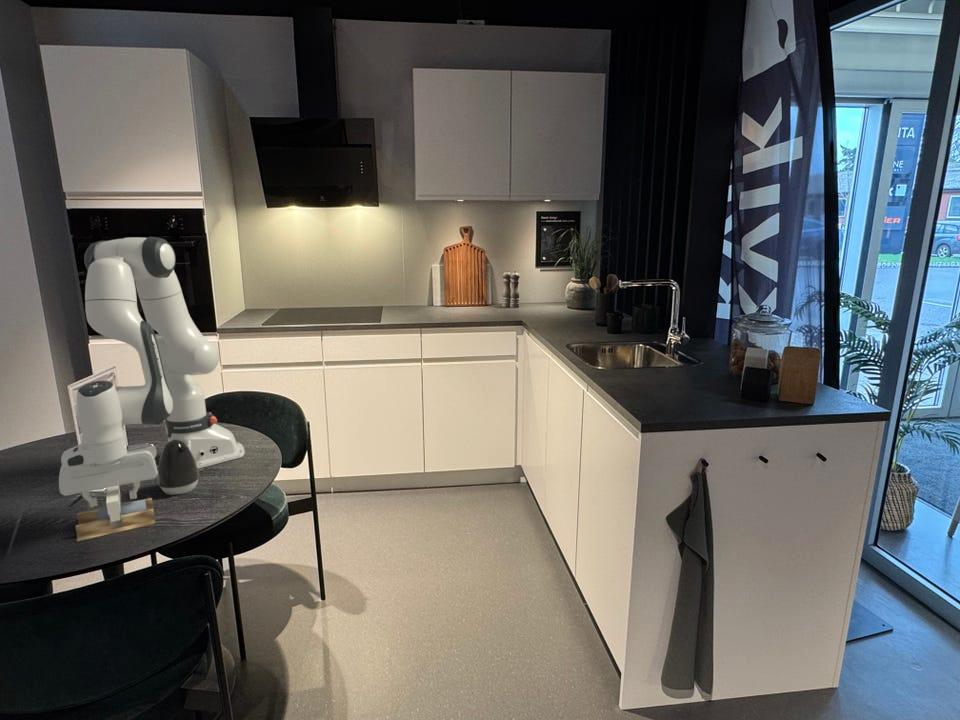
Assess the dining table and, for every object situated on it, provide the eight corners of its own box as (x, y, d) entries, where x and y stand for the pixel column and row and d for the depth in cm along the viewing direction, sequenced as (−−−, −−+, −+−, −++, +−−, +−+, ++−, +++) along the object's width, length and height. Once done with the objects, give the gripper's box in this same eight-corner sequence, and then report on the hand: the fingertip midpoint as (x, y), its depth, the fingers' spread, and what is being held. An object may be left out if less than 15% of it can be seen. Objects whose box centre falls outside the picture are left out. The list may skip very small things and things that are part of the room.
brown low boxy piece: (153, 506, 154) (150, 487, 152) (155, 526, 144) (152, 506, 142) (40, 531, 142) (36, 510, 140) (34, 554, 132) (30, 532, 130)
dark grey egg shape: (174, 503, 155) (166, 450, 152) (152, 494, 161) (144, 442, 157) (209, 489, 164) (203, 438, 160) (187, 480, 169) (180, 430, 166)
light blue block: (146, 511, 149) (144, 496, 149) (147, 517, 146) (145, 503, 145) (100, 521, 144) (98, 506, 144) (100, 528, 141) (97, 513, 140)
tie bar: (121, 502, 149) (118, 483, 148) (121, 519, 140) (118, 500, 139) (109, 504, 148) (106, 486, 146) (109, 522, 139) (106, 503, 138)
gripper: (154, 437, 148) (161, 487, 151) (55, 453, 138) (65, 506, 141) (155, 445, 143) (162, 497, 146) (53, 462, 132) (63, 518, 136)
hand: (114, 502), depth 143 cm, fingers open, 7 cm apart
